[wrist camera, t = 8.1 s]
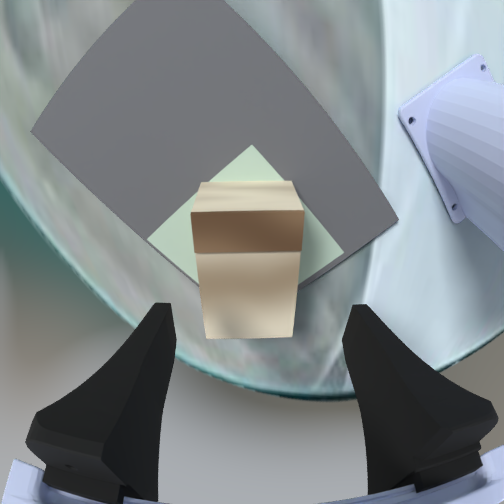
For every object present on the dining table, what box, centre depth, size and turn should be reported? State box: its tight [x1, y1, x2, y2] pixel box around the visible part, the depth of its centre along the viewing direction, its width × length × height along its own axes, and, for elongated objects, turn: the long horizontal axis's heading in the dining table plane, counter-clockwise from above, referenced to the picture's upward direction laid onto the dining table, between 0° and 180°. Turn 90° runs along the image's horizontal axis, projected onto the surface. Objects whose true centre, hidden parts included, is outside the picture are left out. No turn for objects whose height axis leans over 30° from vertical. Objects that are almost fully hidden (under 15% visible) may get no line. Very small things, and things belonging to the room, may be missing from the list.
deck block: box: [190, 181, 305, 339], centre depth 18 cm, size 8×5×4 cm, turn 0°
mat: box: [30, 0, 399, 292], centre depth 17 cm, size 20×13×1 cm, turn 41°
